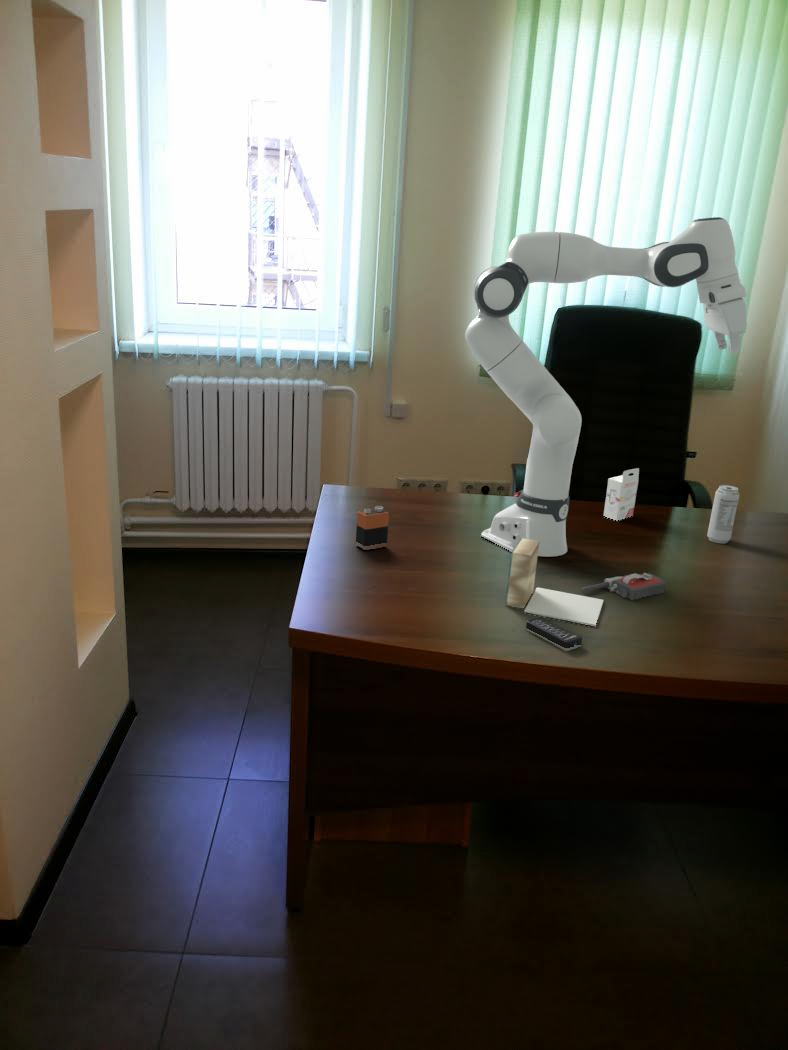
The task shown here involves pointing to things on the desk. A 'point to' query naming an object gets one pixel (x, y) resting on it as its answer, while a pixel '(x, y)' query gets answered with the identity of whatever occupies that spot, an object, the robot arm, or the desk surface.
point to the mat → (565, 606)
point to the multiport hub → (553, 632)
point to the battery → (372, 526)
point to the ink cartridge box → (621, 495)
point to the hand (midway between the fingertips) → (728, 351)
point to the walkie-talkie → (632, 585)
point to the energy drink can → (723, 514)
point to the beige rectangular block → (522, 572)
